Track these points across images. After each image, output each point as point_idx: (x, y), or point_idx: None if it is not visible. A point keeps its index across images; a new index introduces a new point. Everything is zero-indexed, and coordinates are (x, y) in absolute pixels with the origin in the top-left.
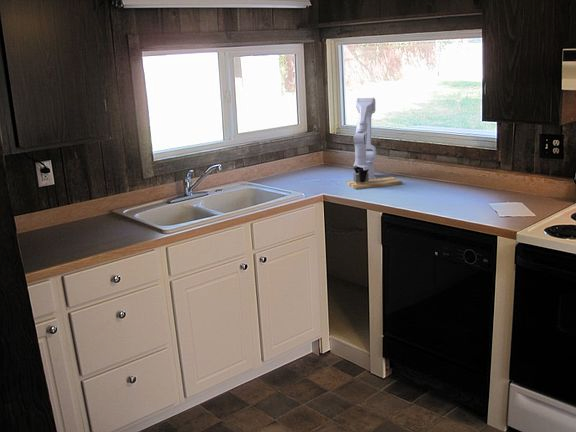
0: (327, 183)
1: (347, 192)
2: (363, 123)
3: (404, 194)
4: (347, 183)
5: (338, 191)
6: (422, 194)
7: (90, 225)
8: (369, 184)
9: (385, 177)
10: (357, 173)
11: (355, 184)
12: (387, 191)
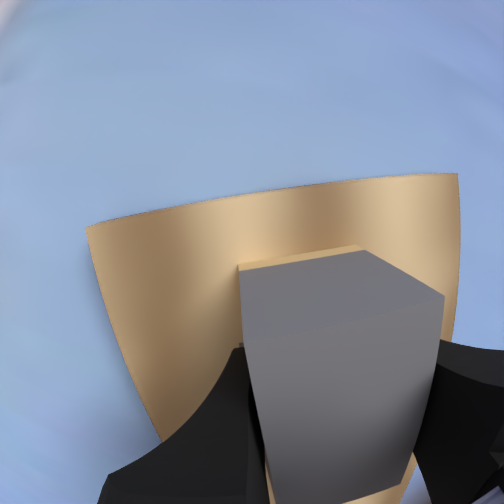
0: (484, 31)
1: (22, 116)
2: None
3: (5, 461)
4: (422, 174)
5: (96, 21)
6: (25, 497)
7: None
8: (172, 412)
9: (397, 495)
10: (388, 387)
11: (219, 250)
12: (45, 442)
